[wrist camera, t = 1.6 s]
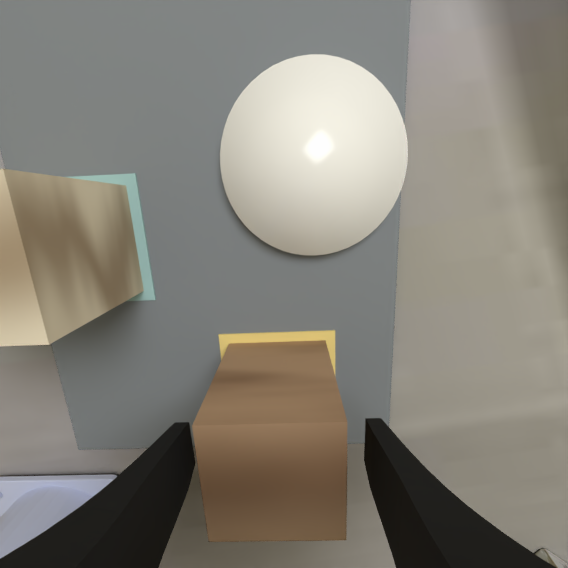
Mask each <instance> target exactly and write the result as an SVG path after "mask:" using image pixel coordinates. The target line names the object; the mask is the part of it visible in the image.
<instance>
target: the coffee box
mask: <svg viewBox="0 0 568 568" xmlns="http://www.w3.org/2000/svg"><path fill="white" fill-rule="evenodd" d="M535 555H537V556H538V557H540V558H541V559H543V560H545V561H546V562H548V563H550V564H551V565H553V566H555V567H556V568H568V563H566V562H564V561H563V560H562V559H560V558H559V557H557V556H556V555H554V554H553V553H551V552H550V551H548V550H547V549H540V550H539V551H537V552H536V553H535Z"/></svg>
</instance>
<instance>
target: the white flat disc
mask: <svg viewBox="0 0 568 568" xmlns="http://www.w3.org/2000/svg"><path fill="white" fill-rule="evenodd" d="M407 160H408V143H407V136H406V130H405V126H404V122H403V119H402V116H401V114H400V111H399V109H398V106H397V105H396V103H395V101H394V99H393V98H392V96H391V94H390V93H389V92H388V90H387V89H386V88H385V87H384V85H383V84H382V83H381V82H380V81H379V80H378V79H377V78H376V77H375V76H374V75H373V74H371V73H370V72H368V71H367V70H366V69H364V68H363V67H361V66H359V65H357V64H355V63H353V62H351V61H349V60H346V59H343V58H340V57H336V56H330V55H324V54H310V55H302V56H297V57H293V58H290V59H286V60H284V61H282V62H279V63H277V64H275V65H273V66H271V67H270V68H268V69H267V70H265V71H264V72H262V73H261V74H260V75H258V76H257V77H256V78H255V79H254V80H253V81H251V83H250V84H249V85H248V86H247V87H246V88H245V89H244V90H243V92H242V93H241V94H240V96H239V97H238V99H237V100H236V102H235V103H234V105H233V107H232V109H231V111H230V113H229V115H228V118H227V121H226V124H225V127H224V130H223V135H222V140H221V148H220V168H221V175H222V181H223V184H224V188H225V192H226V194H227V197H228V199H229V201H230V204H231V206H232V207H233V209H234V211H235V213H236V214H237V216H238V217H239V218H240V220H241V221H242V222H243V224H244V225H245V226H246V227H247V228H248V229H249V230H250V231H251V232H252V233H253V234H255V235H256V236H257V237H258V238H260V239H261V240H262V241H264V242H266V243H267V244H269V245H271V246H273V247H275V248H277V249H280V250H282V251H285V252H289V253H292V254H299V255H314V256H315V255H325V254H330V253H334V252H338V251H341V250H343V249H346V248H348V247H350V246H352V245H354V244H356V243H358V242H360V241H361V240H362V239H364V238H365V237H367V236H368V235H369V234H370V233H372V232H373V231H374V230H375V229H376V228H377V227H378V226H379V225H380V224H381V223H382V221H383V220H384V219H385V218H386V217H387V215H388V214H389V212H390V211H391V209H392V208H393V206H394V204H395V202H396V200H397V198H398V196H399V194H400V191H401V188H402V186H403V182H404V178H405V174H406V169H407Z"/></svg>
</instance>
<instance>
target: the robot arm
mask: <svg viewBox="0 0 568 568" xmlns="http://www.w3.org/2000/svg"><path fill="white" fill-rule="evenodd" d="M364 461H365V466H366V471H367V475H368V480H369V484H370V488H371V491H372V494H373V498H374V501H375V504H376V507H377V510H378V513H379V516H380V519H381V522H382V525H383V528H384V531H385V534H386V537H387V540H388V543H389V546H390V549H391V552H392V555H393V558H394V562H395V565H396V568H556V567H555V566H553V565H551V564H550V563H548V562H546V561H545V560H543V559H541V558H540V557H538V556H537V555H535V554H534V553H532V552H531V551H529V550H528V549H526V548H525V547H523V546H522V545H520V544H519V543H517V542H516V541H514V540H513V539H511V538H510V537H509V536H507V535H506V534H504V533H503V532H501V531H500V530H499V529H497V528H496V527H495V526H493V525H492V524H491V523H489V522H488V521H487V520H485V519H484V518H483V517H481V516H480V515H479V514H477V513H476V512H475V511H474V510H472V509H471V508H470V507H468V506H467V505H466V504H465V503H464V502H462V501H461V500H460V499H459V498H458V497H457V496H455V495H454V494H453V493H452V492H451V491H450V490H448V489H447V488H446V487H445V486H444V485H443V484H442V483H441V482H440V481H439V480H438V479H437V478H436V477H435V476H434V475H432V474H431V473H430V472H429V471H428V470H427V469H426V468H425V467H424V466H423V465H422V464H421V463H420V461H419V460H418V459H417V458H416V457H415V456H414V455H413V454H412V453H411V452H410V451H409V450H408V449H407V448H406V446H405V445H404V444H403V443H402V442H401V441H400V440H399V438H398V437H397V436H396V435H395V434H394V433H393V432H392V430H391V429H390V428H389V427H388V426H387V424H386V423H385V422H384V421H383V420H382V419H381V418H365V451H364ZM194 466H195V458H194V451H193V444H192V437H191V431H190V424H189V422H175V423H174V424H173V425H171V426H170V427H169V428H168V429H167V430H166V431H165V432H164V433H163V434H162V435H161V436H160V437H159V438H158V439H157V440H156V441H155V442H154V443H153V444H152V445H151V446H150V447H149V448H148V449H147V450H146V451H145V452H144V453H143V454H142V455H141V456H139V457H138V458H137V459H136V460H135V461H134V462H133V463H132V464H131V465H130V466H129V467H127V468H126V469H125V470H124V471H123V472H122V473H121V474H120V475H118V476H117V475H113V474H108V475H57V476H6V477H0V568H158V567H159V564H160V561H161V559H162V556H163V553H164V551H165V548H166V546H167V543H168V540H169V538H170V535H171V533H172V530H173V528H174V525H175V523H176V520H177V517H178V515H179V512H180V510H181V507H182V505H183V502H184V499H185V497H186V494H187V491H188V488H189V485H190V481H191V477H192V474H193V470H194Z"/></svg>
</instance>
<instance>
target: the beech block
mask: <svg viewBox="0 0 568 568" xmlns="http://www.w3.org/2000/svg"><path fill="white" fill-rule="evenodd" d="M143 291H144V289H143V283H142V277H141V271H140V265H139V259H138V253H137V247H136V241H135V235H134V229H133V223H132V217H131V211H130V205H129V199H128V193H127V188H126V185H119V184H111V183H104V182H97V181H89V180H82V179H75V178H67V177H60V176H53V175H45V174H38V173H31V172H23V171H16V170H9V169H0V346H22V345H49V344H51V343H53V342H55V341H56V340H58V339H60V338H62V337H63V336H65V335H67V334H69V333H70V332H72V331H74V330H76V329H78V328H79V327H81V326H83V325H85V324H86V323H88V322H90V321H92V320H93V319H95V318H97V317H99V316H100V315H102V314H104V313H106V312H107V311H109V310H111V309H113V308H115V307H116V306H118V305H120V304H122V303H123V302H125V301H127V300H129V299H130V298H132V297H134V296H136V295H137V294H139V293H141V292H143Z"/></svg>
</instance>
